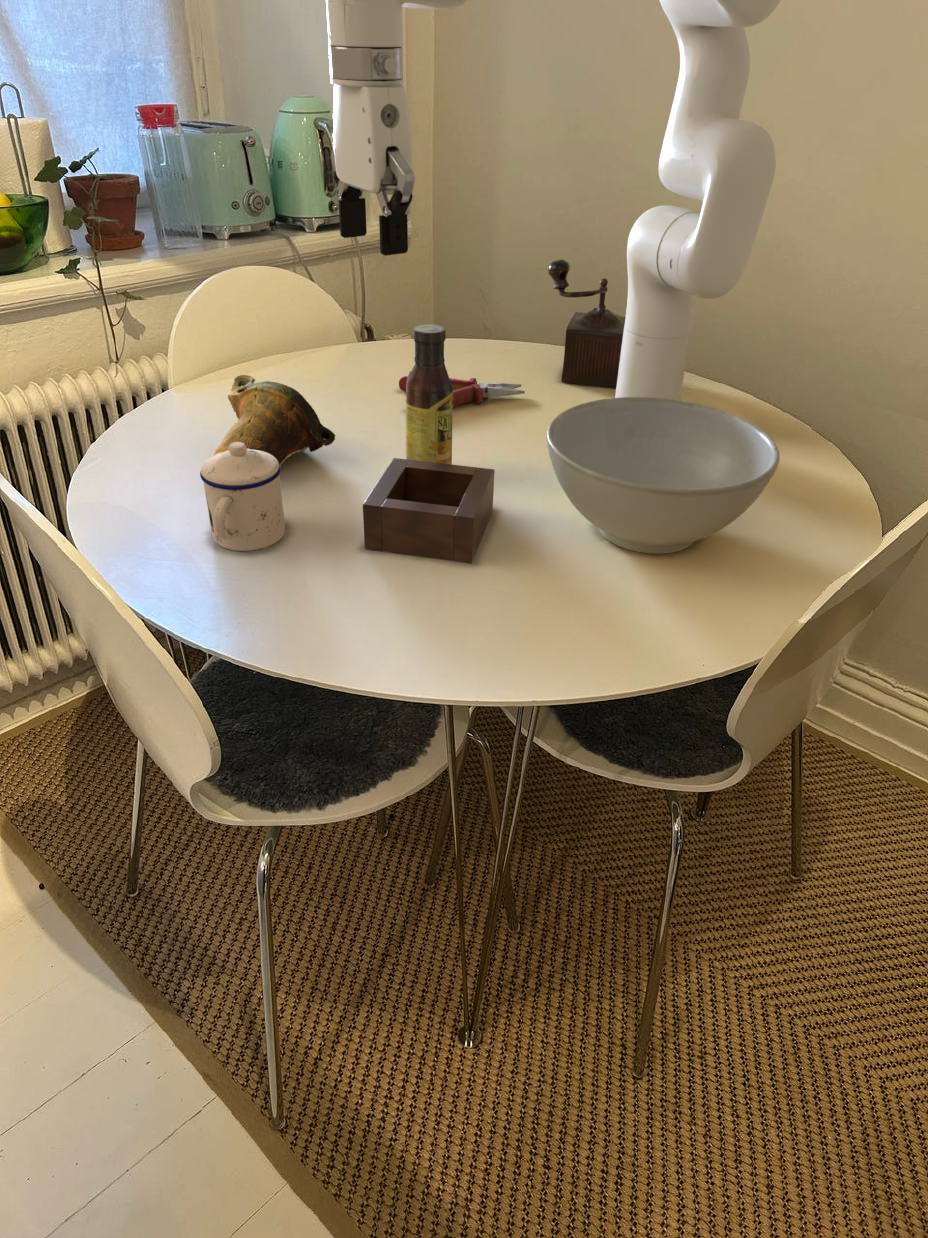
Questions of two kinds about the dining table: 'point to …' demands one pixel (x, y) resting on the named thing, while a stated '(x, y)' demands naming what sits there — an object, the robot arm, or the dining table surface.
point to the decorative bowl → (659, 468)
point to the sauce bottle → (429, 399)
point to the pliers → (474, 390)
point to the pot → (273, 420)
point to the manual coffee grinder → (589, 337)
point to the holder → (429, 510)
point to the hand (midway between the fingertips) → (373, 244)
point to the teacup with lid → (244, 498)
